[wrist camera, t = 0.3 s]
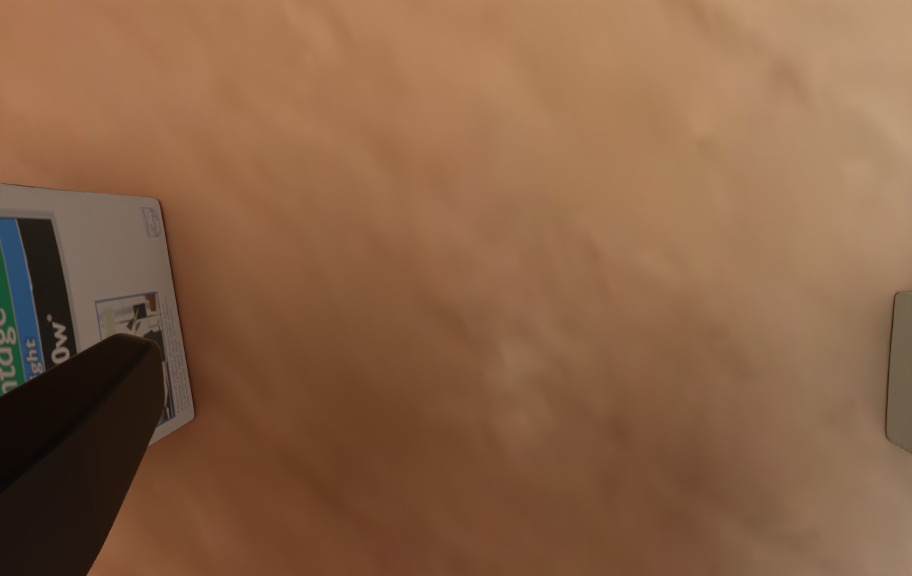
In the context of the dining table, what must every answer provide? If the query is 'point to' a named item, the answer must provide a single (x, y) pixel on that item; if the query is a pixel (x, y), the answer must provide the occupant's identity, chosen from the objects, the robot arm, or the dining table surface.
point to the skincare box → (901, 375)
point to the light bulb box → (86, 285)
